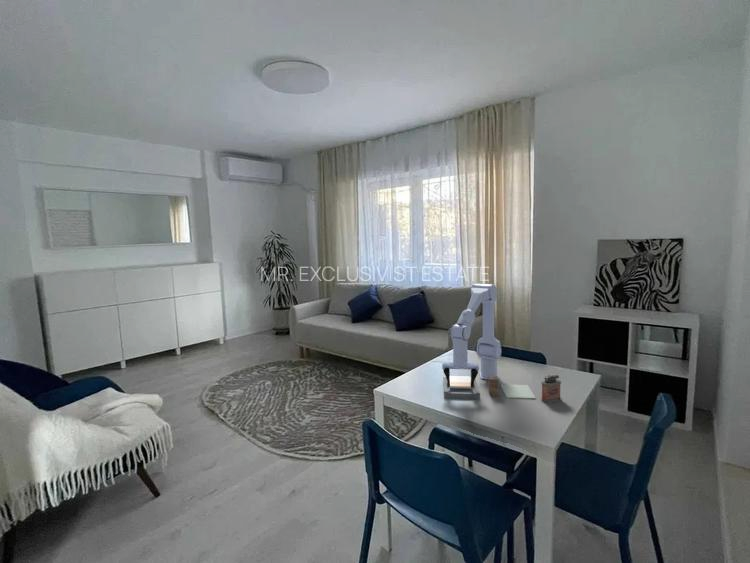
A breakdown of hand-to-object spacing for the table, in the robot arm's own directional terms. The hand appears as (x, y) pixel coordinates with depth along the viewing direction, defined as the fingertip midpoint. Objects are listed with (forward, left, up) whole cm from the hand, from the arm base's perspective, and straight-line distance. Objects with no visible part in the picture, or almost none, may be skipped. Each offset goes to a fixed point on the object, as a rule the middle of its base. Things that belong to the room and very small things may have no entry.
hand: (460, 386), depth 151 cm
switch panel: (-5, 0, -4) cm, 6 cm away
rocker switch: (-5, 0, 0) cm, 5 cm away
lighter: (+2, +34, -4) cm, 35 cm away
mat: (-5, +23, -4) cm, 24 cm away
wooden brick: (-2, +13, -4) cm, 14 cm away
